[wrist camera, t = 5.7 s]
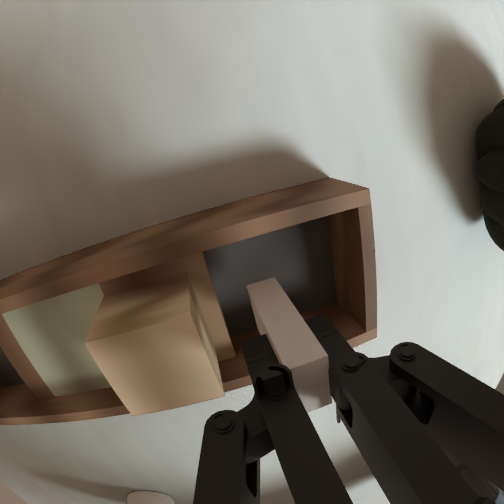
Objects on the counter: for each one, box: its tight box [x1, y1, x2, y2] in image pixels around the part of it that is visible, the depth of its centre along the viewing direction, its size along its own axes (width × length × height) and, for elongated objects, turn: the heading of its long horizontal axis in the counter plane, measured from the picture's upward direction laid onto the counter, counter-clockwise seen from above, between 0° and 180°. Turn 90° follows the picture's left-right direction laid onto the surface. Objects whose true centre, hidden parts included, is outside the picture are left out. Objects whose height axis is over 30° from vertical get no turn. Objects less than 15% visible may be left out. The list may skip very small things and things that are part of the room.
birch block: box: [84, 271, 225, 416], centre depth 15 cm, size 5×5×4 cm
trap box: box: [0, 178, 377, 425], centre depth 16 cm, size 34×10×4 cm, turn 103°
